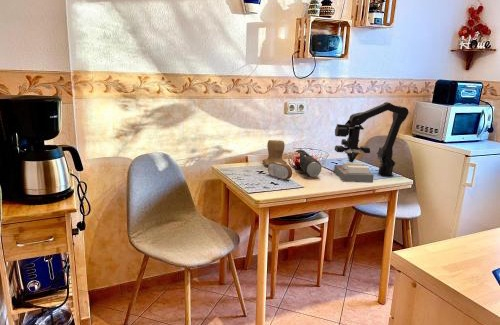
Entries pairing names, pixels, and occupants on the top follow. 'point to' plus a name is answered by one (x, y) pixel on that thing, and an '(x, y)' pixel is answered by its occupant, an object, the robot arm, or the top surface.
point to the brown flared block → (275, 152)
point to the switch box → (352, 175)
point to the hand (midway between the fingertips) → (350, 164)
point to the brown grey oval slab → (279, 170)
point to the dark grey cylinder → (309, 164)
